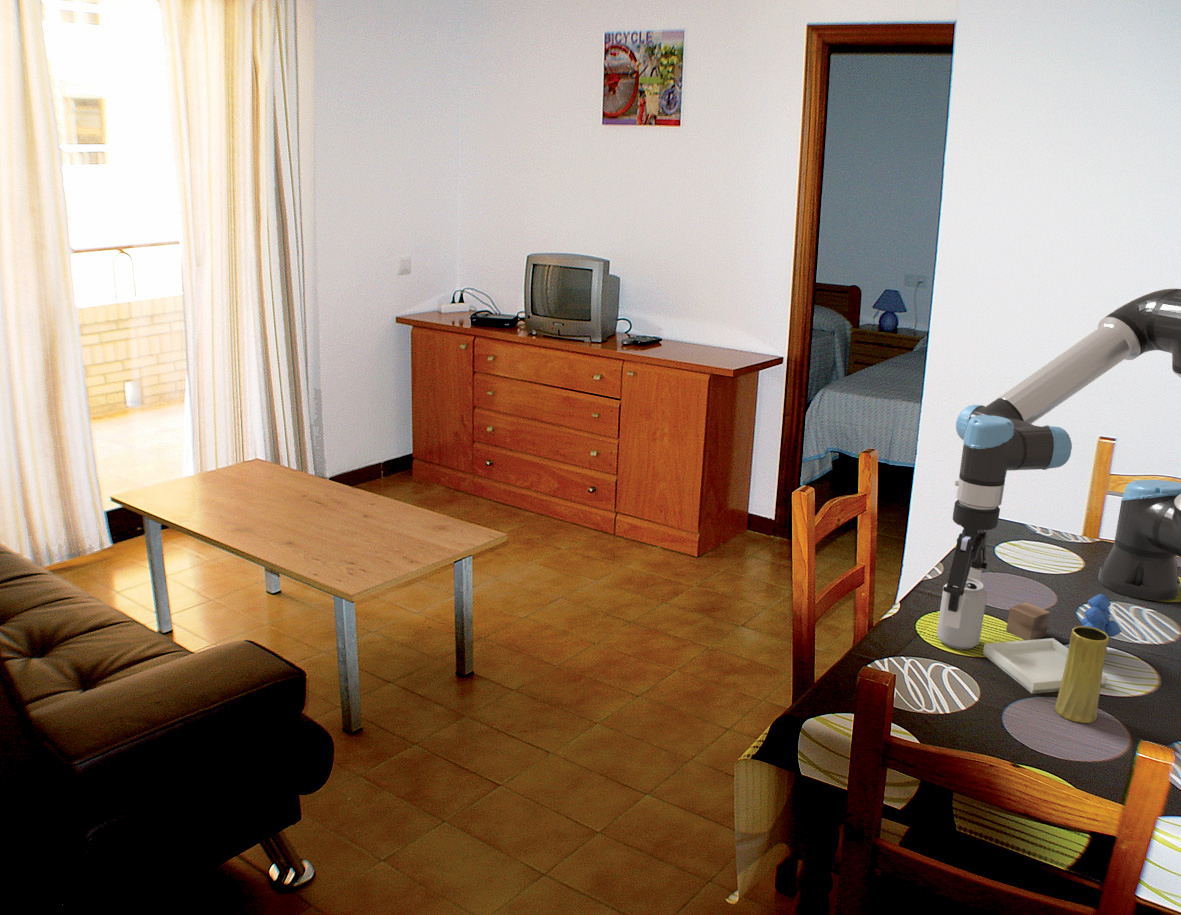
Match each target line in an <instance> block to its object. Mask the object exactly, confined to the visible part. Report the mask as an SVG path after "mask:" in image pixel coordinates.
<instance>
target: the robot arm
mask: <svg viewBox="0 0 1181 915" xmlns="http://www.w3.org/2000/svg"><path fill="white" fill-rule="evenodd" d="M1098 322H1099V323H1098V325H1097V329H1095V330H1094V331H1092V332H1091V333H1089V334H1088V335H1086V336H1085V337H1084V338H1082V339H1081V340H1079V341H1078V342H1076V343H1075V344H1073V345H1072V346H1070V348H1068V349H1067V350H1065V351H1064V352H1062V353H1060V354H1059V355H1058V356H1056V357H1055V358H1053V360H1051V361H1049V362H1048V363H1047V364H1044V366H1042V367H1041V368H1039V369H1038V370H1037V371H1034V372H1033V373H1032V374H1031V375H1029V376H1028V377H1026V378H1025V379H1023V380H1022V381H1021V382H1019V383H1018V384H1016V385H1015V386H1013V387H1012V388H1011V389H1009V390H1007V392H1004V393H1003V394H1001V396H999V397H998V398H996V399H994V400H993V401H992V402H990V403H989V404H987V405H986V406H985V405H983V404H981V405H979V404H972V405H968V406H966V407H965V408H964V409H962V410H961V411H960V412H959V415H958V416H957V418H956V422H955V430H956V434H957V436H959V438H960V439H961V440H963V441H962V442H963V446H962V452H961V453H962V454H961V460H960V467H959V476H958V477H959V478H958V480H955V481H954V485H955V486H956V487H957V490H956V495H955V498H956V499H957V500H956V501H955V502H954V507H953V512H952V520H953V522H954V524H957V525H958V526H960V527H962V528H963V529H962V532H961V533H959V534H958V537H957V539H956V546H955V549H954V550H955V551H954V556H953V559H952V563H951V566H950V570H949V571H950V572H949V576H948V579H947V582H946V584H947V587H944V588H943V587H942V592H943V591H945V592H947V593H948V594H947V600H946V607H945V613H944V620H943V625H946V626H949V627H953V628H957V629H959V627H960V621H961V614H962V608H963V602H964V596H965V594H964V589H965V585H966V582H967V578H968V577H969V578H973V579H976V580H978V581H980V582H981V578H982V573H983V572H982V571H983V570H987V567H988V563H987V562H985V561H986V560H987V557H986V556H987V539H988V538H987V537H988V531H991V530H994V529H995V528H997V526H998V525H999V517H1000V512H1001V508H1000V507H999V506H1001V505H1002V502H1003V496H1004V490H1005V485H1006V484H1005V483H1006V477H1007V473H1008V471H1009V472H1010V471H1030V470H1031V471H1032V470H1043V471H1047V470H1048V469H1056V468H1061V467H1063V466H1064V465H1065V464H1067V463H1068V461H1069V460H1070V458H1071V455H1072V454H1071V453H1072V450H1073V443H1072V438H1071V436H1070V435H1069V433H1068V432H1067V431H1066V430H1065V429H1064V428H1062V427H1060V426H1050V425H1048V424H1047V425H1043V426H1038V425H1034V423H1035V422H1036V421H1038V420H1039V419H1040V418H1042V417H1044V416H1045V415H1047V414H1049V412H1051V411H1052V410H1054V409H1055V408H1057V407H1058V406H1059V405H1061V404H1062V403H1064V402H1065V401H1067V400H1069V399H1070V398H1071V397H1072V396H1074V395H1076V394H1077V393H1078V392H1080V391H1081V390H1083V389H1084V388H1086V387H1087V386H1088V385H1089V384H1091V383H1092V382H1094V381H1095V380H1097V379H1098V378H1100V377H1102V376H1103V375H1104V374H1106V373H1108V371H1110V370H1111V369H1113V368H1114V367H1115V366H1117V365H1118V364H1120V363H1121V362H1123V361H1125V360H1126V361H1133V360H1135V359H1136V358H1138V357H1139V356H1141V355H1142V354H1145V353H1147V352H1151V351H1162V352H1164V353H1170V354H1171V355H1172V356H1171V359H1172V360H1171V363H1172V364H1171V365H1172V366H1171V367H1172V372H1173V373H1174V374H1175V375H1176V376H1178V377H1179V378H1181V288H1166V289H1164V288H1163V289H1159V290H1156V291H1153V292H1150V293H1148V294H1144V295H1142V296H1140V297H1138V298H1135V299H1133V300H1131V301H1129V302H1127V303H1125V304H1124V305H1121V306H1120V307H1118V308H1117V309H1115V310H1113V311H1112V312H1111V313H1109V314H1107V316H1105V317H1103V318H1102V319H1100V320H1099V321H1098ZM1177 557H1179V558H1181V482H1177V481H1171V480H1164V479H1162V480H1161V479H1139V480H1133V481H1130V482H1129V483H1128V484H1126V486H1125V488H1124V491H1123V495H1122V498H1121V502H1120V507H1119V514H1118V520H1117V526H1116V531H1115V536H1114V542H1113V545H1112V548H1111V550H1110V551H1109V553H1108V555H1107V557H1106V558H1105V560H1104V562H1103V563H1102V564H1101V566H1100V568H1099V572H1098V574H1097V575H1098V577H1097V579H1098V582H1099V584H1101V585H1102V586H1104V587H1105V588H1106V589H1109V590H1111V591H1113V592H1115V593H1118V594H1121V595H1123V596H1127V597H1131V598H1136V599H1140V600H1141V599H1142V600H1146V601H1169V600H1174V599H1176V598H1177V597H1178V596H1179V595H1180V594H1179V593H1180V589H1181V580H1180V576H1179V567H1178V562H1177ZM953 586H956V587H953Z"/></svg>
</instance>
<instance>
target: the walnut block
mask: <svg viewBox="0 0 1181 915" xmlns="http://www.w3.org/2000/svg"><path fill="white" fill-rule="evenodd" d="M1050 616H1051V612H1050V611H1049V610H1046V609H1043V608H1041V607H1038V606H1036V605H1035V604H1031V603H1029V602H1027V601H1025V602H1022V603H1019V604H1016V605H1014V606H1010V607H1009V610H1008V617H1007V622H1006V630H1005V632H1007V633H1009V634H1010V635H1013V636H1015V637H1017V638H1019V639H1022V640H1023V641H1025V640H1037V639H1043V638H1044V637H1047V633H1048V628H1049V621H1050Z"/></svg>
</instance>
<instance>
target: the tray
mask: <svg viewBox="0 0 1181 915" xmlns="http://www.w3.org/2000/svg"><path fill="white" fill-rule="evenodd" d="M983 645H984V646H983V651H982V655H983V656H985V657H986V658H987V659H988V660H990V661H991V662H992V663H994V664H995V665H996V666H997V667H999V669H1001V670H1002V672H1004V673H1006V674H1007V675H1008V676H1009V677H1010V678H1012V679H1013V680H1014V681H1016V682H1017V683H1018V684H1019V685H1020V686H1022V687H1023V688H1024V689H1025V690H1026V691H1028V692H1029V693H1030V694H1031V695H1032V694H1043V693H1053V692H1059V689H1060V685H1061V682H1062V678H1063V674H1064V669H1065V664H1066V661H1067V655H1068V649H1069V647H1067V646H1065V645H1063V644H1062V643H1061V642H1059V641H1058V640H1056V639H1055V638H1054V637H1051V638H1040V639H1037V640H1013V641H1006V642H1005V641H1002V642H992V643H984V644H983ZM1107 677H1108V675H1106V674H1105V673H1103V672H1102V679H1101V687H1100V688H1103V687H1105V688H1106V684H1107V683H1106V682H1107Z"/></svg>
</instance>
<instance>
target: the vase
mask: <svg viewBox="0 0 1181 915" xmlns="http://www.w3.org/2000/svg"><path fill="white" fill-rule="evenodd" d="M1109 641H1110V637H1109V636H1108V635H1107V634H1106V633H1105V632H1104V631H1102V630H1099V629H1097V628H1093V627H1087V626H1083V625H1078V626H1075V627H1073V628H1072V629H1071V634H1070V638H1069V643H1068V644H1069V645H1068V655H1067V661H1066V664H1065V669H1064V674H1063V678H1062V682H1061V685H1060V689H1059V691H1058V694H1057V698H1056V703H1055V705H1054V709H1055V712H1056V713H1057V714H1058V715H1059V716H1060V717H1062V718H1064V719H1065V720H1068V721H1070V722H1073V723H1074V722H1075V723H1080V724H1090V723H1094V722H1095V721H1096V720H1097V718H1098V707H1099V701H1100V700H1099V699H1100V693H1101V688H1102V687H1101V679H1102V673H1103V671H1104V666H1105V660H1106V656H1107V649H1108V644H1109Z"/></svg>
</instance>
